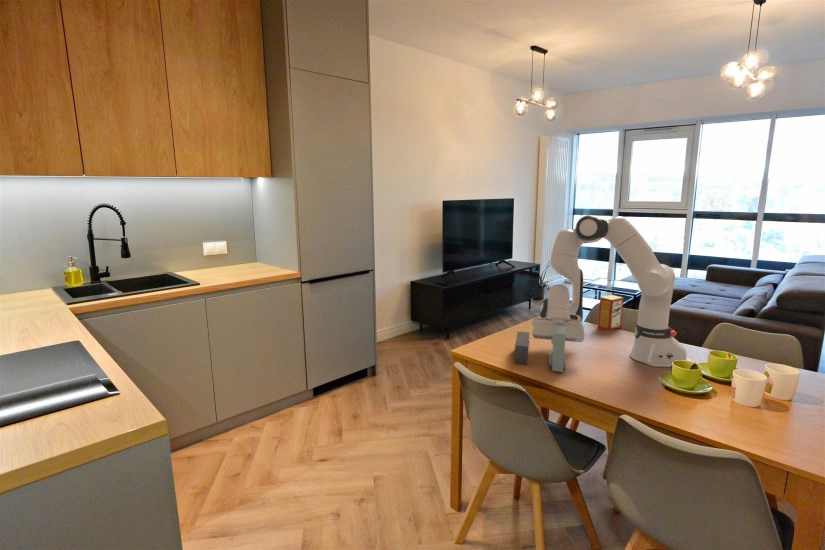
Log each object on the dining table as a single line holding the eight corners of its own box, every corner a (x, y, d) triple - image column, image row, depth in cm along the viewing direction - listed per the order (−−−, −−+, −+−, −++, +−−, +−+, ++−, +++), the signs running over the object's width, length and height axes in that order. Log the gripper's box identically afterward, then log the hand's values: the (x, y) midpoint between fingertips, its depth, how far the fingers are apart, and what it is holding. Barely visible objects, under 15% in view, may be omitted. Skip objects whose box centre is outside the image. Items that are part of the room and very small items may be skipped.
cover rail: (563, 357, 186) (563, 354, 185) (565, 370, 172) (565, 367, 172) (548, 355, 187) (548, 353, 187) (549, 368, 174) (549, 366, 174)
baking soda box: (609, 324, 229) (611, 294, 226) (621, 327, 224) (623, 296, 221) (597, 327, 224) (600, 296, 221) (609, 330, 219) (612, 299, 216)
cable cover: (562, 362, 177) (564, 326, 174) (563, 371, 168) (565, 334, 165) (551, 361, 178) (553, 325, 175) (552, 370, 169) (554, 333, 166)
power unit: (529, 349, 194) (530, 332, 193) (527, 365, 177) (528, 346, 176) (516, 348, 196) (517, 331, 194) (514, 364, 179) (515, 345, 177)
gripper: (532, 313, 185) (531, 343, 178) (584, 317, 179) (585, 348, 172) (532, 320, 190) (530, 350, 183) (583, 324, 184) (583, 354, 177)
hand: (557, 349), depth 177 cm, fingers closed, pressing on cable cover
